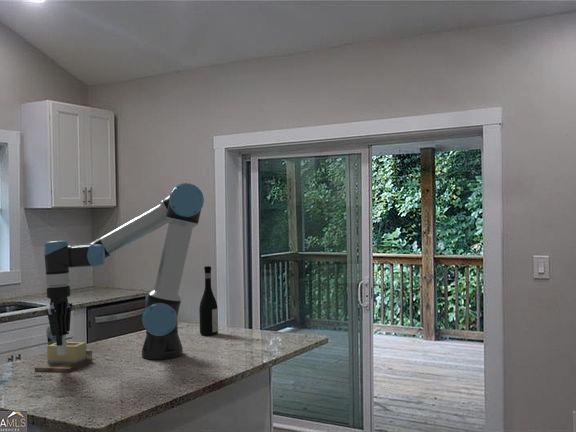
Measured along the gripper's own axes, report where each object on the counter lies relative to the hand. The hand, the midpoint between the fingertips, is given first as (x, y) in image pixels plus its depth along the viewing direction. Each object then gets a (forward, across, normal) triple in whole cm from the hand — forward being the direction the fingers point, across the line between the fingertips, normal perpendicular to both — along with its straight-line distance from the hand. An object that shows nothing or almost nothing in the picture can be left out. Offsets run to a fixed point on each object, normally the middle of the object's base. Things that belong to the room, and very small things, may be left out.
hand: (62, 354), depth 202 cm
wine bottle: (+7, -64, +32) cm, 72 cm away
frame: (+4, -8, -3) cm, 9 cm away
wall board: (+5, -5, -2) cm, 8 cm away
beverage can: (+5, -18, -14) cm, 24 cm away
